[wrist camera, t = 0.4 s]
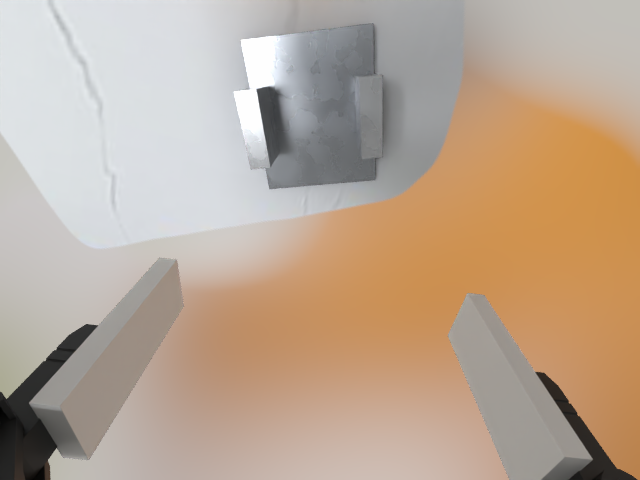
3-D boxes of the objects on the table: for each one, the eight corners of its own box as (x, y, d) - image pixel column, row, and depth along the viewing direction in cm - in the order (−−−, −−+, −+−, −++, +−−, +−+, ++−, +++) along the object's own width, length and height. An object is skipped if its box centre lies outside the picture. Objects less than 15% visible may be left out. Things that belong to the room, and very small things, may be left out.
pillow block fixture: (243, 41, 31) (221, 34, 25) (372, 24, 30) (382, 13, 24) (270, 186, 38) (259, 208, 32) (374, 177, 37) (382, 198, 31)
